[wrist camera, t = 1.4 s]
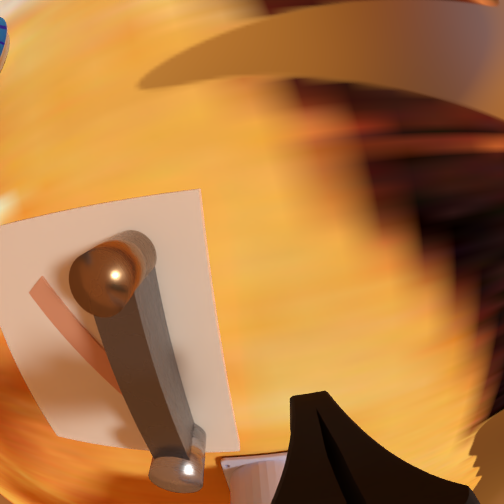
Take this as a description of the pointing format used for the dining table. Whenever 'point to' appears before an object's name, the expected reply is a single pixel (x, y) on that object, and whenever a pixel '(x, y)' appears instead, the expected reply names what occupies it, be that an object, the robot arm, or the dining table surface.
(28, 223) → the board
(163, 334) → the lever
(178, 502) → the dining table surface
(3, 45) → the beer can
